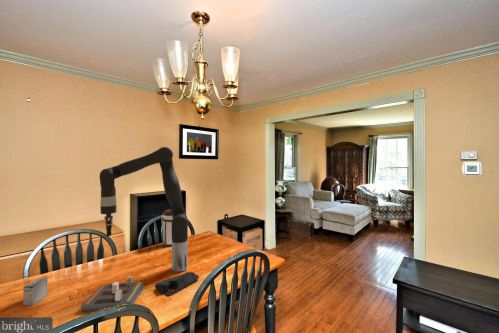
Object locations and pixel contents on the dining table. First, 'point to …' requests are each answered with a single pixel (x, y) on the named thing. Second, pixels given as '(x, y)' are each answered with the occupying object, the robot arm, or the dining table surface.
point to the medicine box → (35, 291)
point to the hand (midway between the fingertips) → (108, 233)
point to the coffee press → (167, 227)
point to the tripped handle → (115, 287)
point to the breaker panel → (113, 295)
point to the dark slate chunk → (176, 283)
